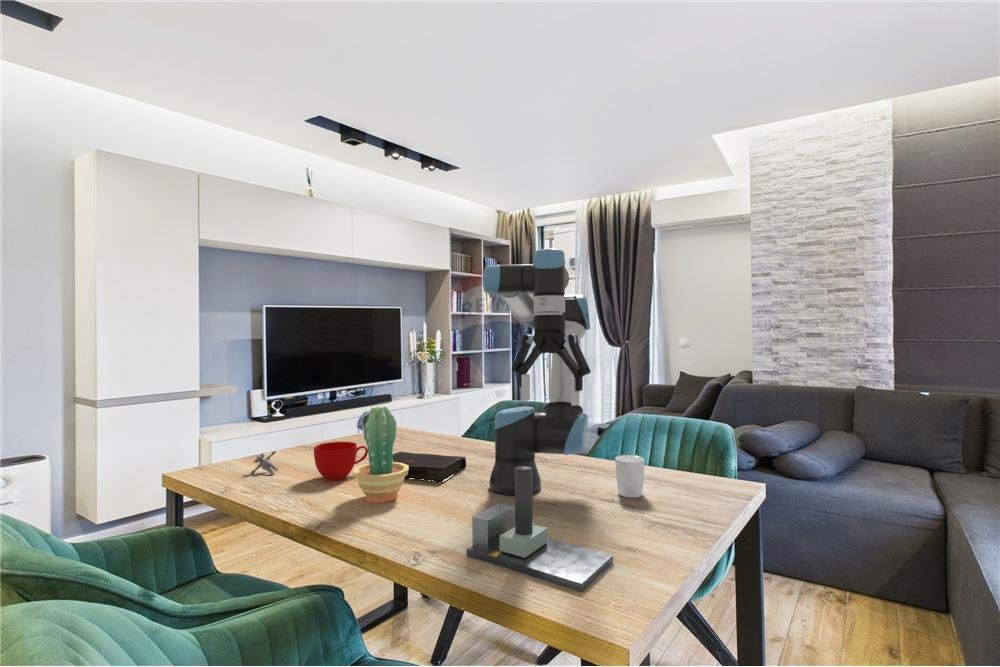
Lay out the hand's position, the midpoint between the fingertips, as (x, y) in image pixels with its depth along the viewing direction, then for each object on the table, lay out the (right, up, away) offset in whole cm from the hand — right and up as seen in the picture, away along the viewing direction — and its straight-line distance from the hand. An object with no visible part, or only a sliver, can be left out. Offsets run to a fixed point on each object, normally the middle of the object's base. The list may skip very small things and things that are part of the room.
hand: (549, 402), depth 125 cm
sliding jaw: (-7, -27, -18) cm, 33 cm away
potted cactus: (-45, -29, +20) cm, 57 cm away
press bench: (-4, -29, -20) cm, 35 cm away
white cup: (+24, -29, +21) cm, 43 cm away
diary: (-38, -29, +45) cm, 66 cm away
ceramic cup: (-62, -29, +40) cm, 79 cm away
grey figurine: (-88, -29, +46) cm, 103 cm away
